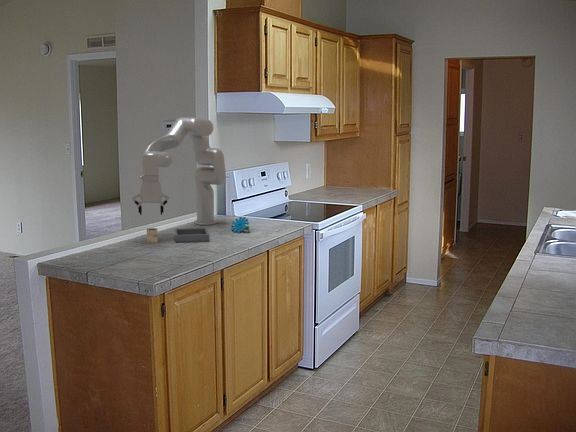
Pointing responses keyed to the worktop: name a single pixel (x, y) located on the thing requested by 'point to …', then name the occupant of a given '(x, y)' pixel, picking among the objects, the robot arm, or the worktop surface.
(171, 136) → the robot arm
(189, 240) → the tray
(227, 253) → the worktop surface
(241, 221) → the gear
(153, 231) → the maple block
